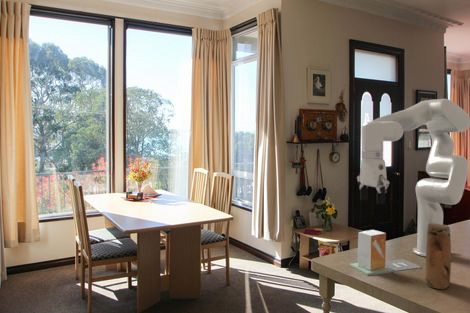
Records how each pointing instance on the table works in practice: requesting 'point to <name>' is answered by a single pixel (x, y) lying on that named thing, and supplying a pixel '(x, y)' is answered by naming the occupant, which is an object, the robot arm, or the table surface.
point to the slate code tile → (400, 265)
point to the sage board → (372, 272)
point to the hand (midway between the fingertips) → (372, 201)
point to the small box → (371, 249)
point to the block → (438, 256)
